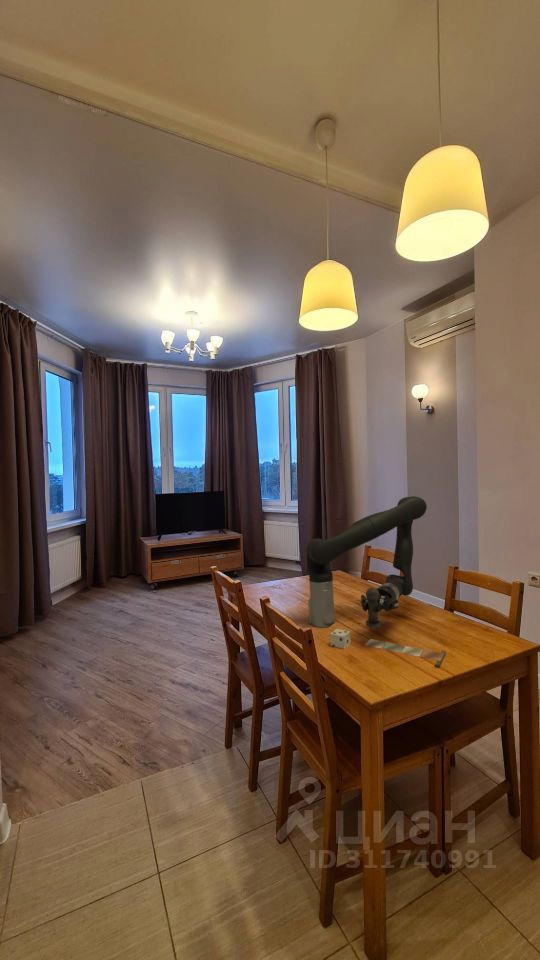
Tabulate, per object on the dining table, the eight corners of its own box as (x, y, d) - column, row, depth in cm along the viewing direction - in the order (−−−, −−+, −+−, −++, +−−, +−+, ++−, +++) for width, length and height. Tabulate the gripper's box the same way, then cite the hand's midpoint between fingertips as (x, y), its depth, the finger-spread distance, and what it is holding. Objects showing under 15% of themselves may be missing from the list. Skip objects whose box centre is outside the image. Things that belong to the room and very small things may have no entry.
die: (330, 648, 130) (329, 633, 130) (336, 643, 134) (336, 628, 134) (344, 652, 127) (344, 636, 127) (350, 646, 131) (350, 631, 131)
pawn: (363, 626, 130) (362, 588, 130) (368, 621, 133) (367, 585, 133) (378, 629, 127) (376, 590, 127) (382, 624, 131) (381, 587, 131)
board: (361, 650, 127) (360, 648, 127) (372, 638, 136) (372, 636, 136) (439, 667, 114) (439, 664, 114) (446, 653, 123) (446, 650, 123)
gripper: (367, 582, 146) (349, 594, 132) (405, 587, 138) (390, 601, 124) (367, 602, 146) (350, 616, 132) (406, 608, 138) (391, 624, 124)
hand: (370, 609), depth 128 cm, fingers closed on pawn, 3 cm apart
